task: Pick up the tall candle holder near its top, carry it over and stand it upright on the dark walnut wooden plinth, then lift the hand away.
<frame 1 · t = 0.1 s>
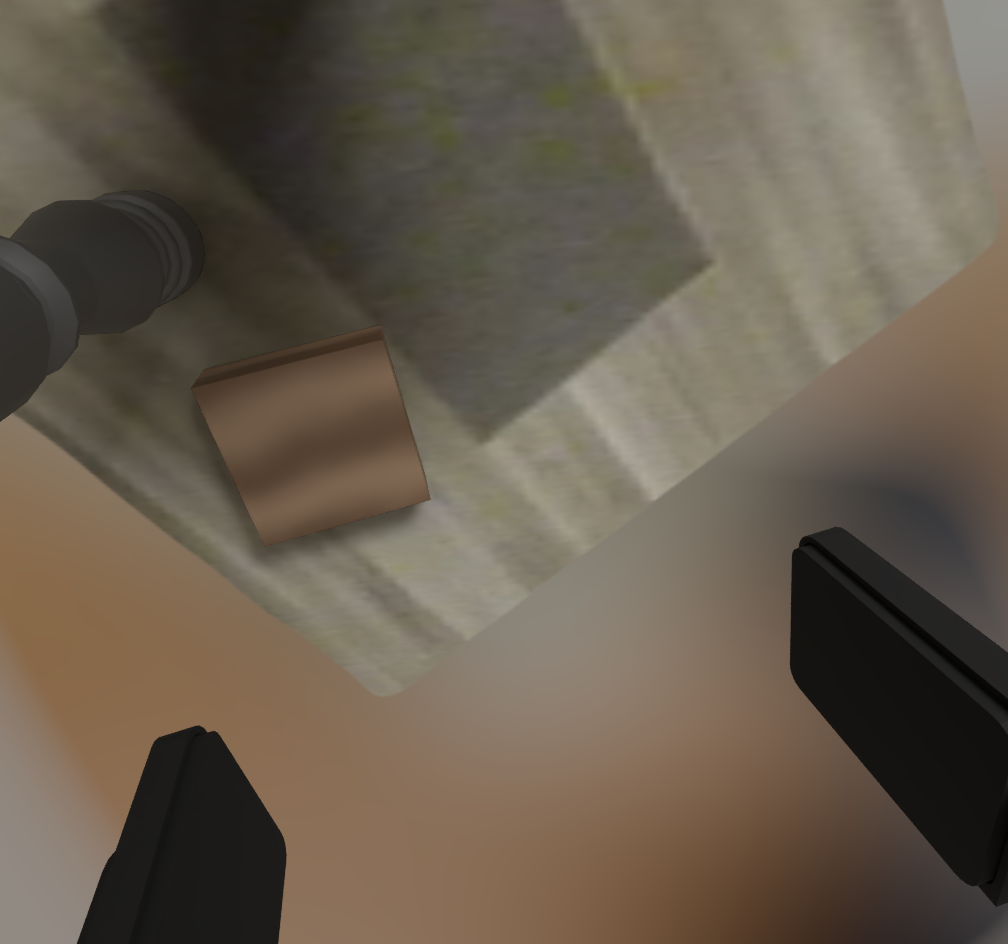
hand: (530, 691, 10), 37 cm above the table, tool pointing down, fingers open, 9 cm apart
candle holder: (150, 245, 38), on the table
walnut plinth: (323, 426, 45), on the table
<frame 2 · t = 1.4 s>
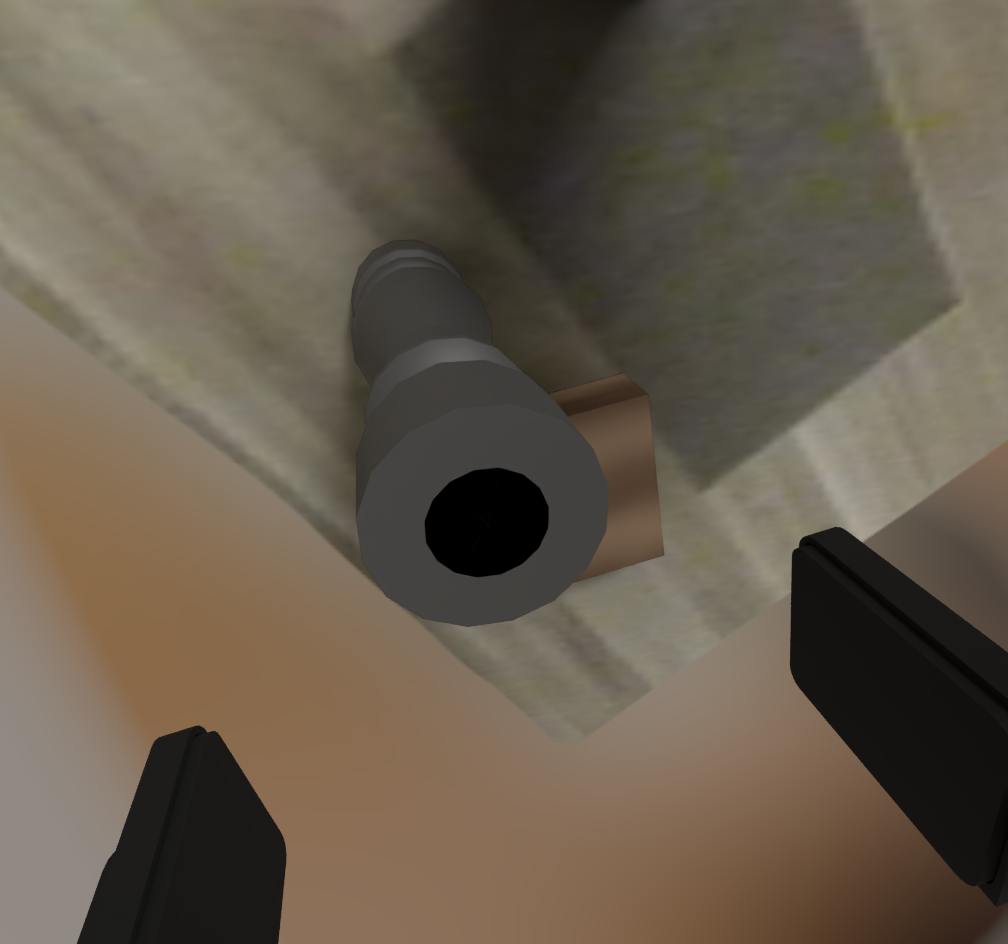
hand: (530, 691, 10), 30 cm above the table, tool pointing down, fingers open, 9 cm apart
candle holder: (408, 296, 36), on the table
walnut plinth: (550, 477, 43), on the table
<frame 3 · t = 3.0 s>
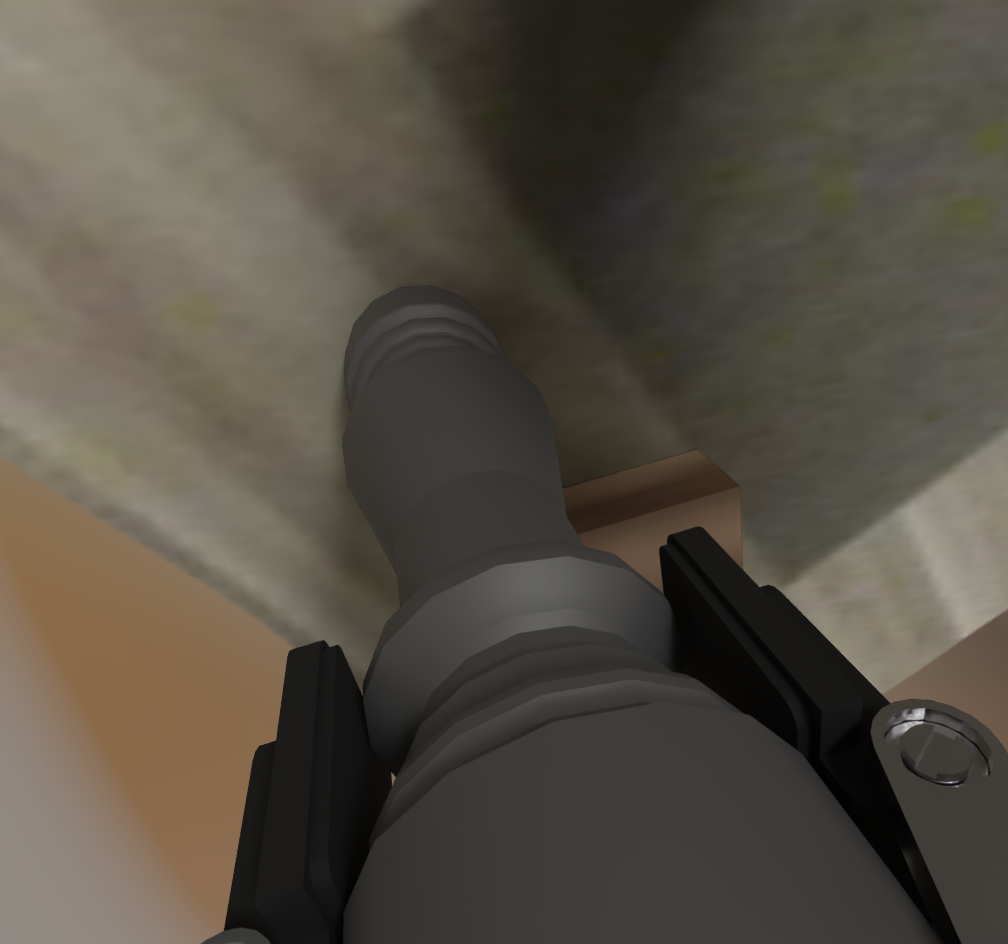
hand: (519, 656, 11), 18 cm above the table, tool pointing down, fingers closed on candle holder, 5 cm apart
candle holder: (420, 359, 27), on the table, touching gripper
walnut plinth: (599, 578, 34), on the table
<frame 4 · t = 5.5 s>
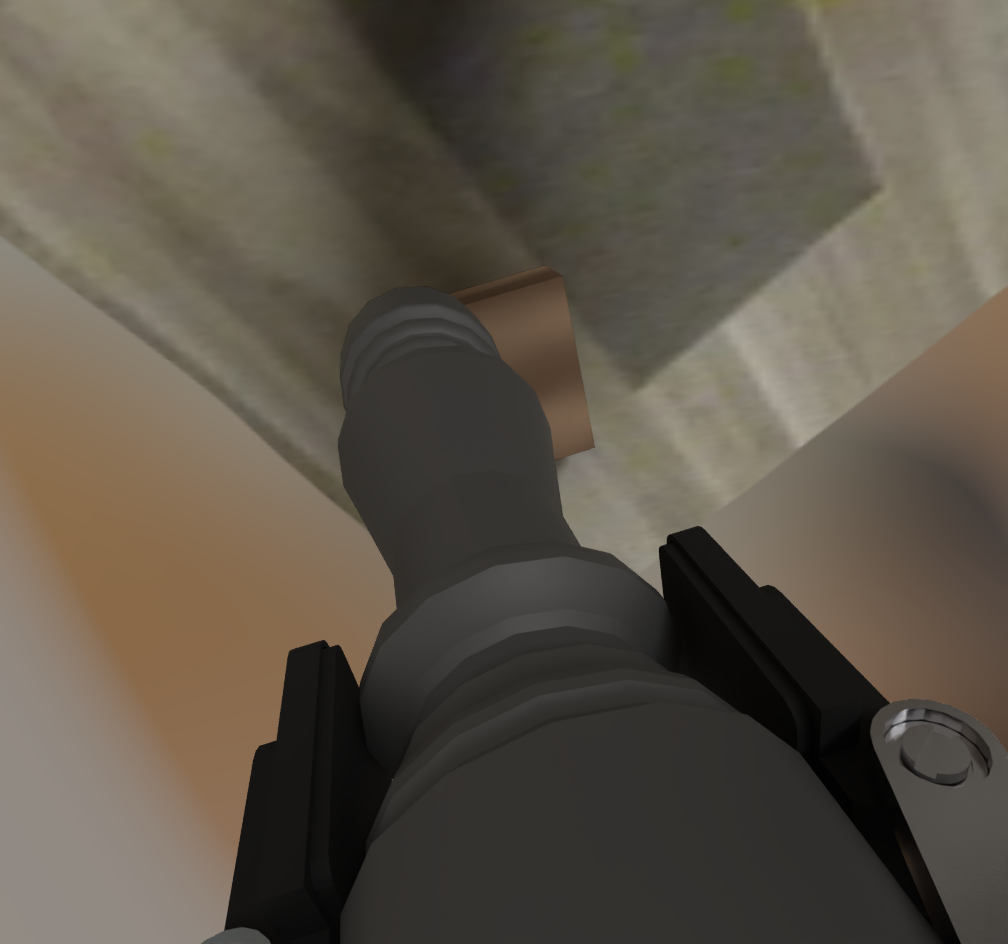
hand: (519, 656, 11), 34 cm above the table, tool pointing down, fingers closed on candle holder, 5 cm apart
candle holder: (416, 360, 27), point 16 cm above the table, touching gripper
walnut plinth: (481, 375, 44), on the table
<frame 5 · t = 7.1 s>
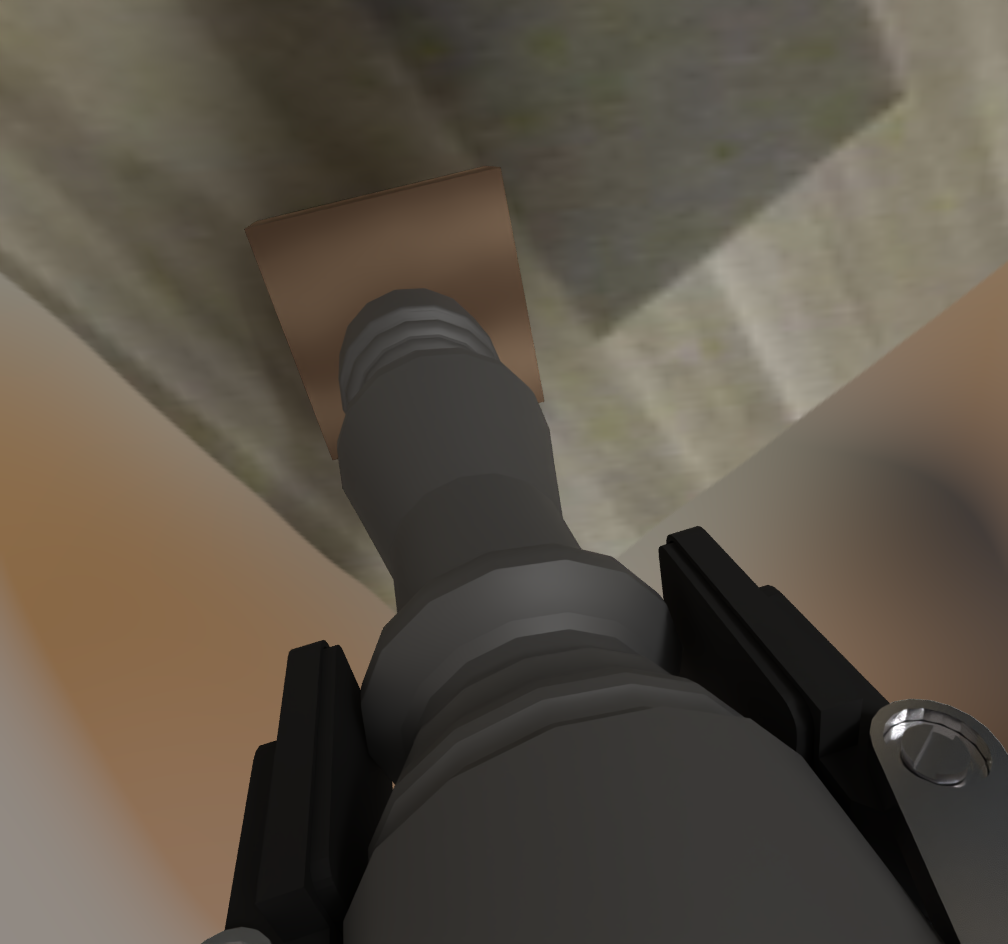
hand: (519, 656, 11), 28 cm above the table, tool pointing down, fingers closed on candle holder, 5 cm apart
candle holder: (414, 361, 27), point 10 cm above the table, touching gripper
walnut plinth: (404, 307, 35), on the table
when the fingers open (23 cm above the table, at t = 8.5 s): candle holder stays where it is, resting on walnut plinth.
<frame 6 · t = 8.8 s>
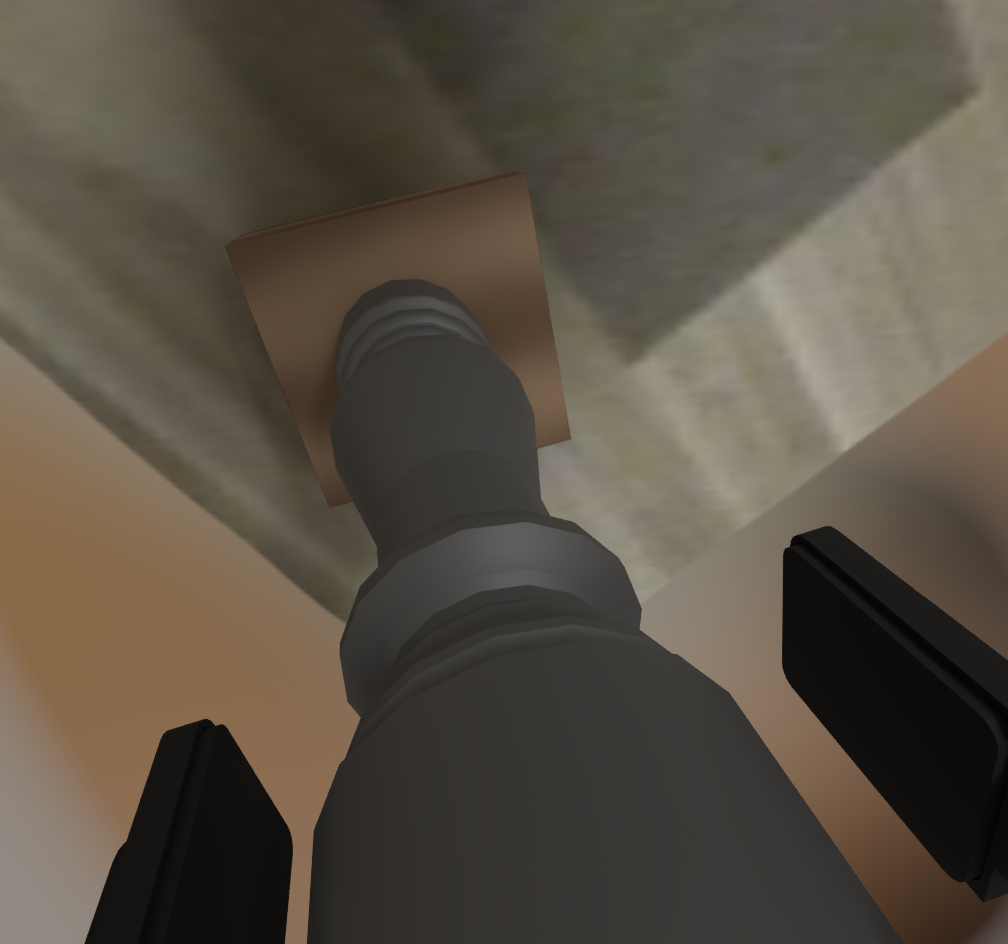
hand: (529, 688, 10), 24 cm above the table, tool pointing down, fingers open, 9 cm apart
candle holder: (410, 350, 27), point 4 cm above the table, touching walnut plinth
walnut plinth: (412, 332, 31), on the table
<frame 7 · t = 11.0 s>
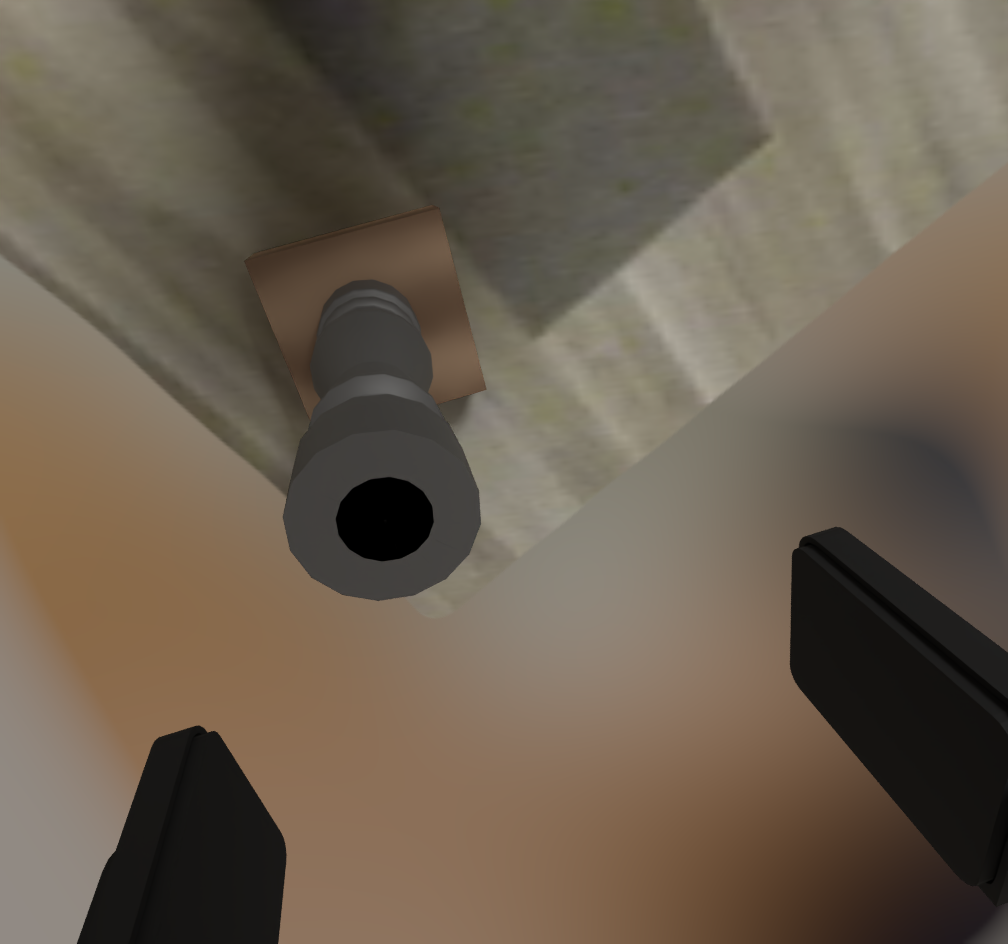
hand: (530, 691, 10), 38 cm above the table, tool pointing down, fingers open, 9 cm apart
candle holder: (369, 328, 41), point 4 cm above the table, touching walnut plinth
walnut plinth: (373, 317, 44), on the table
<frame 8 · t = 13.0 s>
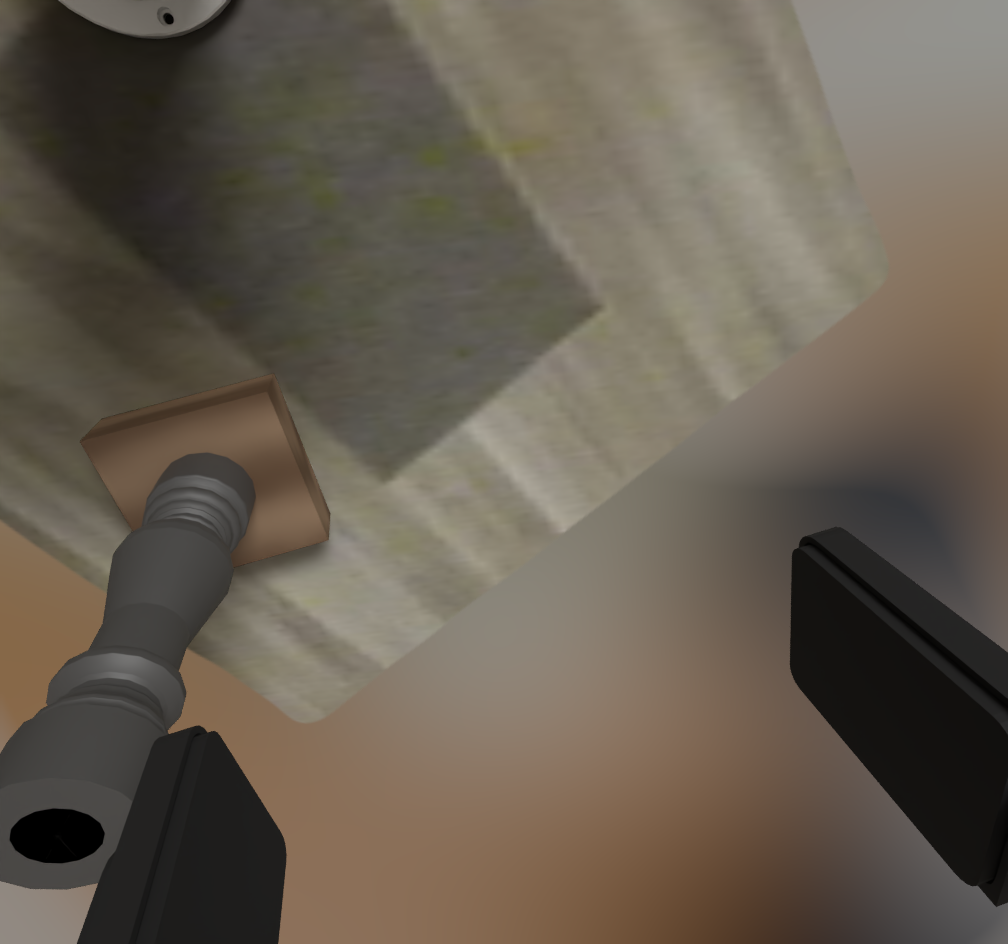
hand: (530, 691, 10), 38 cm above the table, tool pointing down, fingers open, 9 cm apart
candle holder: (208, 492, 43), point 4 cm above the table, touching walnut plinth
walnut plinth: (224, 469, 47), on the table
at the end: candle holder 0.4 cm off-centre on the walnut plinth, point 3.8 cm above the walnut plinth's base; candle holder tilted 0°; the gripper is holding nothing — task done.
